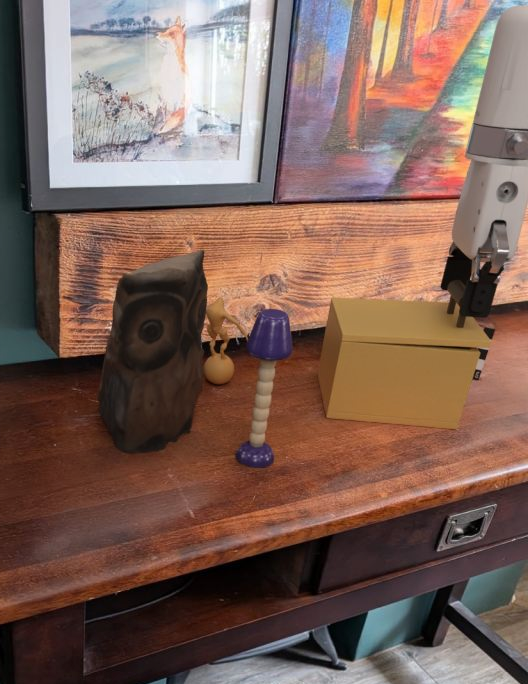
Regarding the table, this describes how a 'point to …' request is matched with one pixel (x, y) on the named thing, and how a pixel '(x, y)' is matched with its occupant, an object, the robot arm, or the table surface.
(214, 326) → the figurine
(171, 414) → the owl
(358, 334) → the lid
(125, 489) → the table surface
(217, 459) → the table surface
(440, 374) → the chest
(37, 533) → the table surface
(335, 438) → the table surface
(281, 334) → the toy lamp
